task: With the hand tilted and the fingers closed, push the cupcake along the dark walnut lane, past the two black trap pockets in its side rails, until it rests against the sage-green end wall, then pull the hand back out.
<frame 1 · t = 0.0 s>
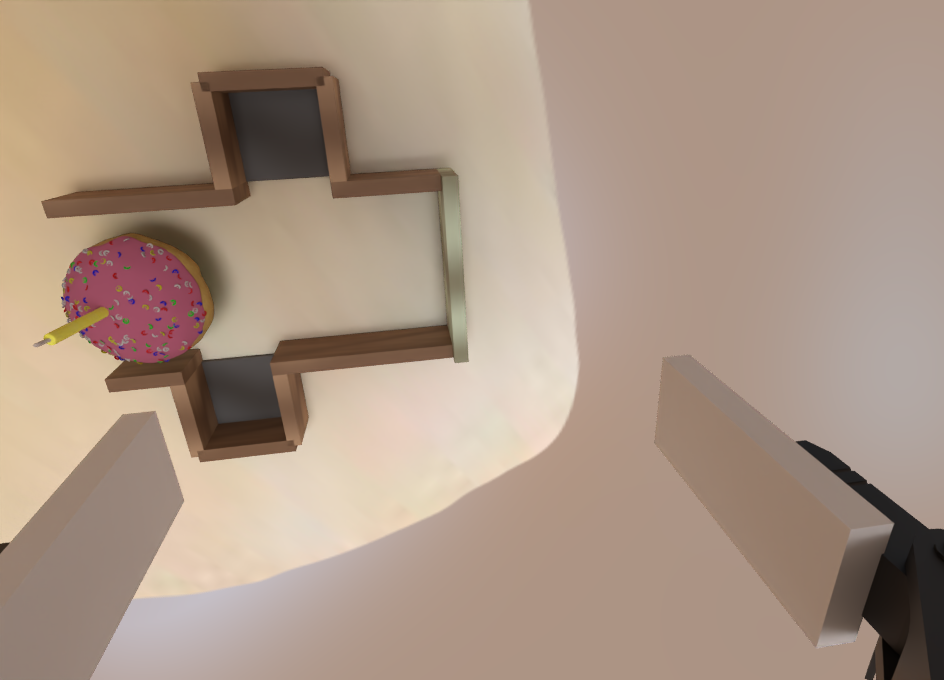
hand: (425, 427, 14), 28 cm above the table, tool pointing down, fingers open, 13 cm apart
cupcake: (167, 279, 39), on the table
trap lane: (280, 271, 40), on the table
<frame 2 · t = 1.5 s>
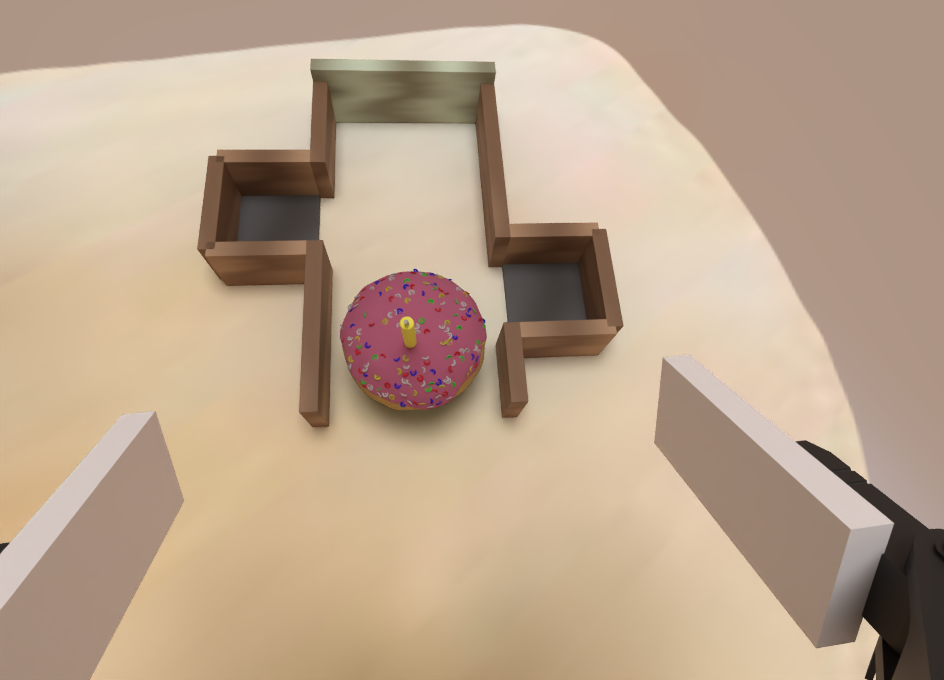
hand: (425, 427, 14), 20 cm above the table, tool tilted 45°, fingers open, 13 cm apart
cupcake: (414, 363, 36), on the table
trap lane: (411, 256, 39), on the table
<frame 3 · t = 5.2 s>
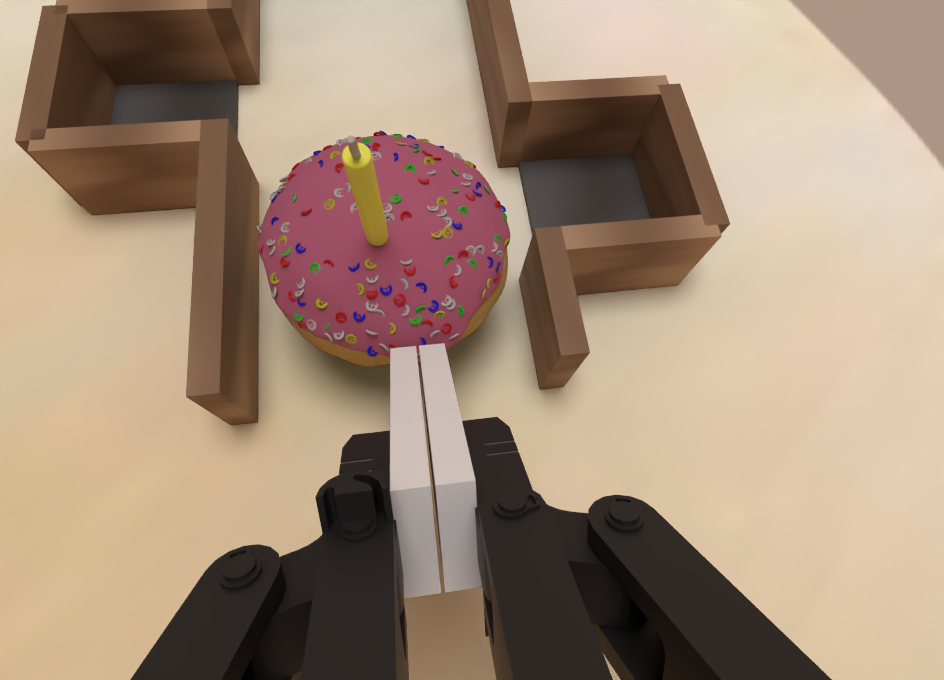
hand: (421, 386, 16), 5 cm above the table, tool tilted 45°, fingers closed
cupcake: (395, 303, 23), on the table, touching gripper
trap lane: (379, 158, 26), on the table
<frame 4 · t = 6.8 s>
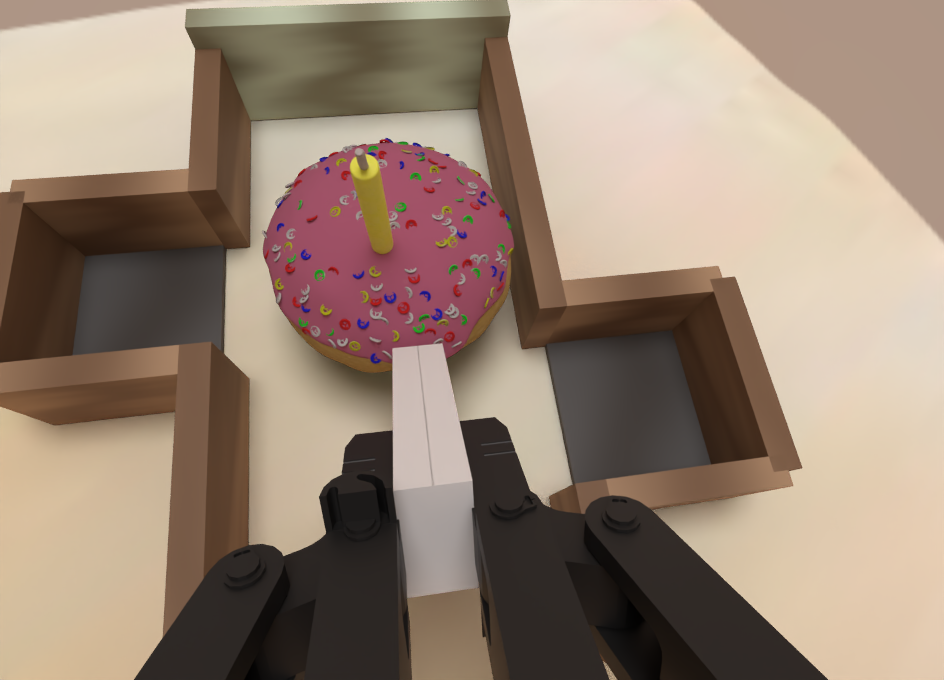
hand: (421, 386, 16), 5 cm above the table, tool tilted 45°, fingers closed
cupcake: (398, 308, 23), on the table, touching gripper
trap lane: (387, 340, 22), on the table
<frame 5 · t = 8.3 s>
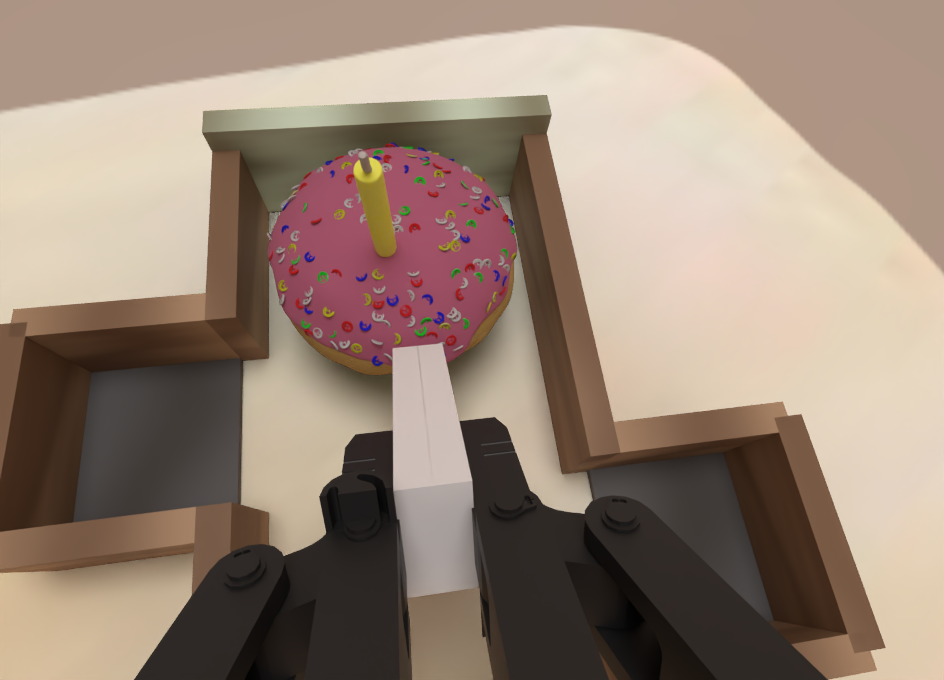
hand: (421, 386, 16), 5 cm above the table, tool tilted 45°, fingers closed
cupcake: (401, 311, 23), on the table, touching gripper
trap lane: (417, 465, 21), on the table
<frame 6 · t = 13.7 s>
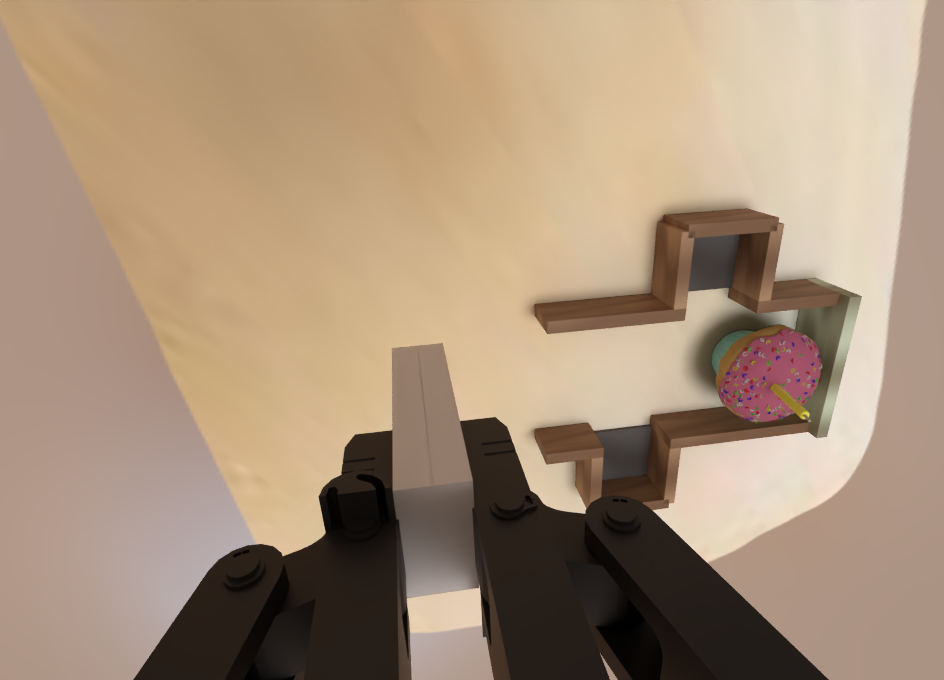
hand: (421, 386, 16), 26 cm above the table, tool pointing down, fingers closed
cupcake: (735, 351, 49), on the table
trap lane: (666, 360, 48), on the table
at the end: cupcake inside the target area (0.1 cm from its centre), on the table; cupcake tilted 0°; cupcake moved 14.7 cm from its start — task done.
